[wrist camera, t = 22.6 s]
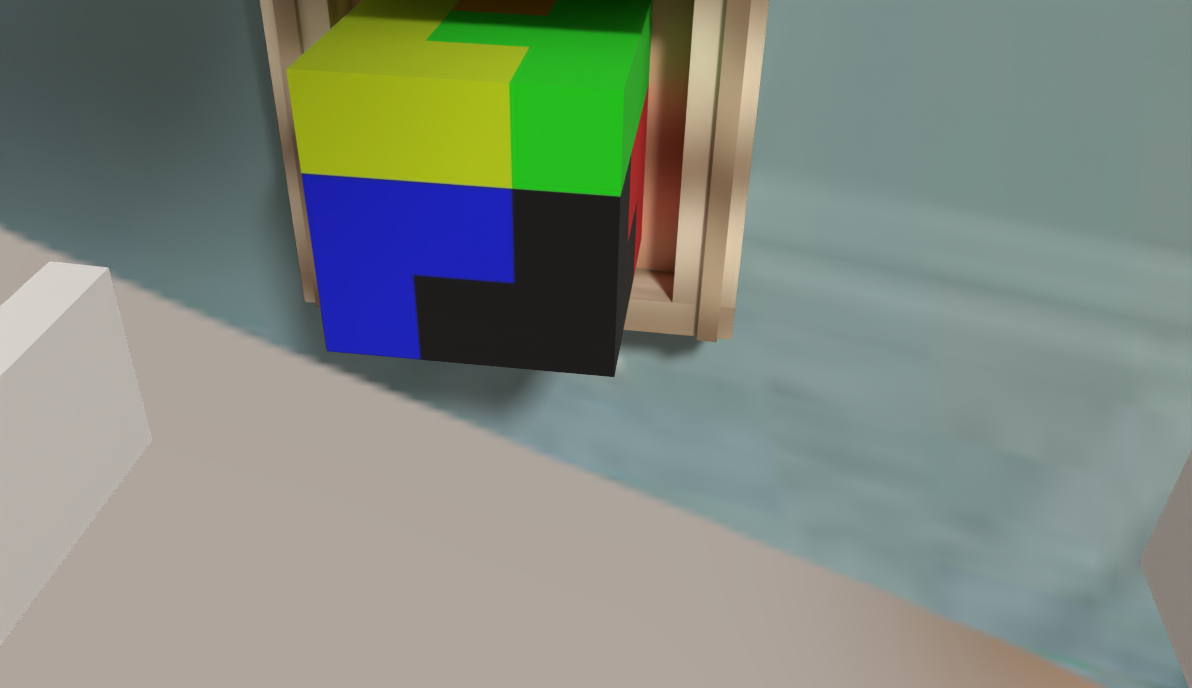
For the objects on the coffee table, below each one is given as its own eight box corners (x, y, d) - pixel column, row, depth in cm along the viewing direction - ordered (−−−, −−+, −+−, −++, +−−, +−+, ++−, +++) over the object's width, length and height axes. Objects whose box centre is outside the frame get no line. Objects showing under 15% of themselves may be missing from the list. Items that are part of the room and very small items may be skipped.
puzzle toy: (406, 221, 45) (326, 351, 37) (385, -21, 40) (286, 68, 31) (641, 239, 44) (614, 376, 36) (653, -6, 39) (624, 90, 30)
